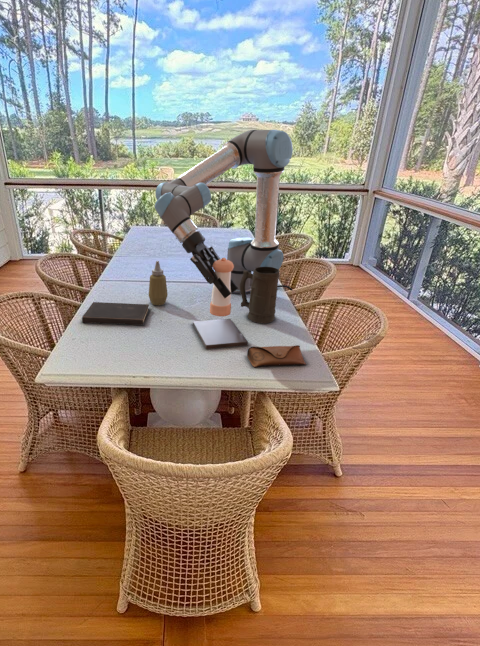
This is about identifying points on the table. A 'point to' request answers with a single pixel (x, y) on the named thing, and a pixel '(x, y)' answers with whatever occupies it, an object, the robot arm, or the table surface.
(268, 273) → the beer stein
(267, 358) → the sunglasses case
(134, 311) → the hardcover book
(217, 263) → the pepper shaker
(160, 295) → the squeeze bottle
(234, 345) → the serving board
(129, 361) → the table surface
